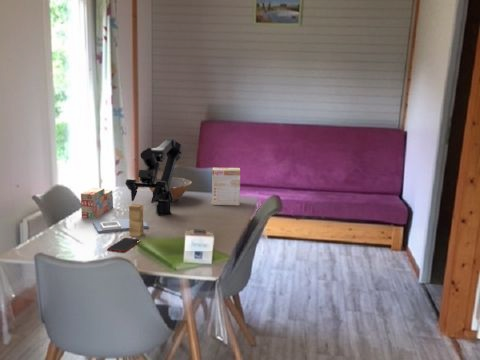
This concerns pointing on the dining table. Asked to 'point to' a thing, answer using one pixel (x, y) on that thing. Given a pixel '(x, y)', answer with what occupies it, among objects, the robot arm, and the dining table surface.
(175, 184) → the bowl
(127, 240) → the cell phone
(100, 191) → the stack of blocks
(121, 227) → the board
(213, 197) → the coffeecake box
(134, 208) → the pillar block
